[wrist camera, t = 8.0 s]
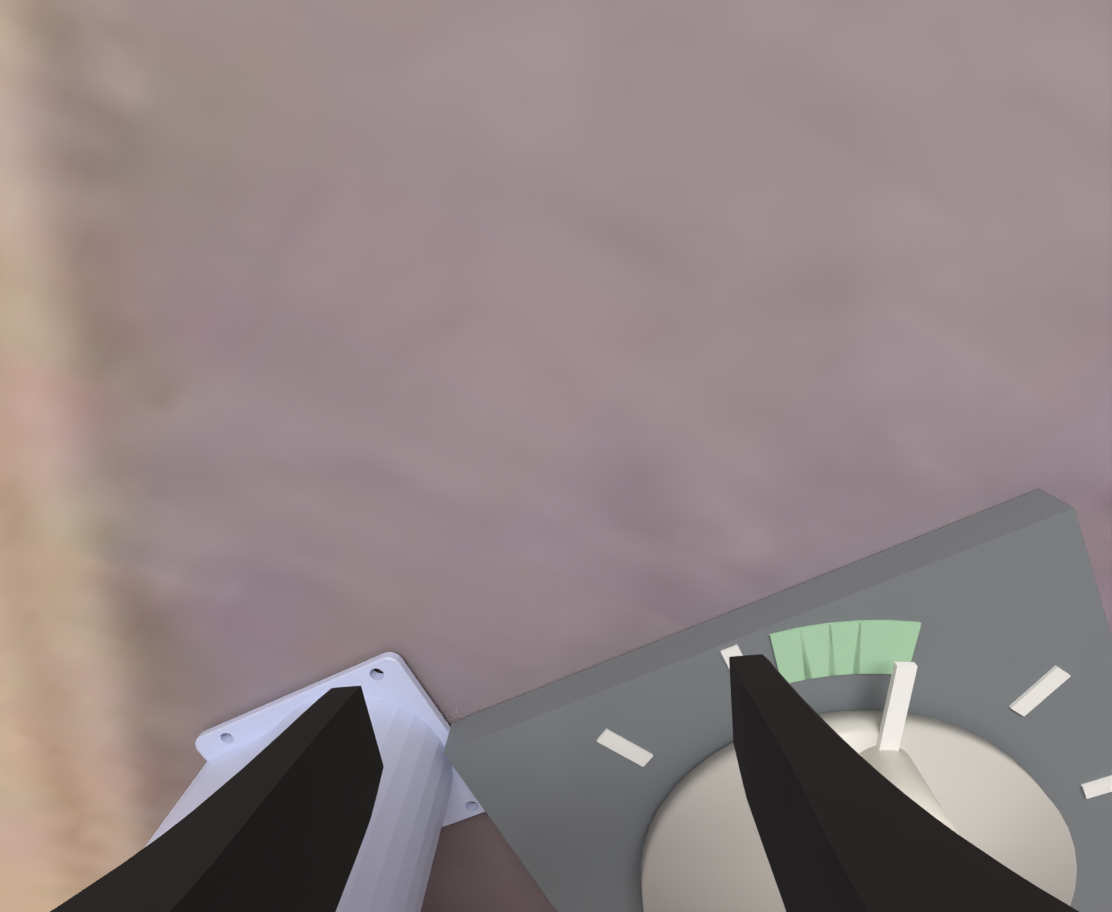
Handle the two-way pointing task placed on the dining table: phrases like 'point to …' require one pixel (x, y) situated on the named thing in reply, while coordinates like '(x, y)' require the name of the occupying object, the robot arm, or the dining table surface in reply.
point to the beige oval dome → (900, 756)
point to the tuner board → (820, 696)
